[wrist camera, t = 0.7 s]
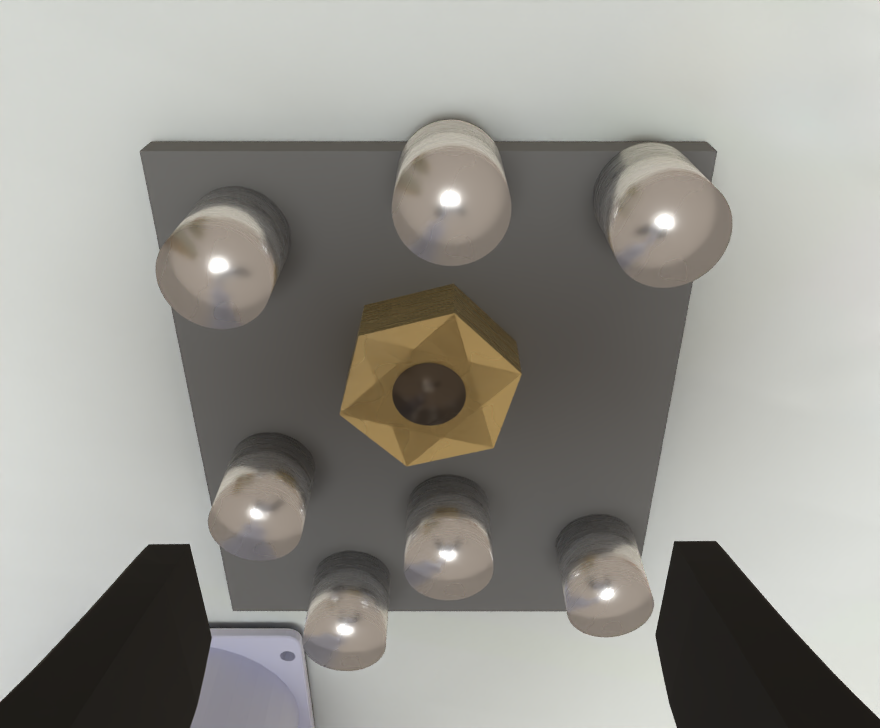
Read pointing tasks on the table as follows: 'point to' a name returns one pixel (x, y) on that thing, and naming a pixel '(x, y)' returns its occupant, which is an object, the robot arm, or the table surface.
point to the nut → (430, 376)
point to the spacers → (444, 496)
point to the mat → (402, 273)
